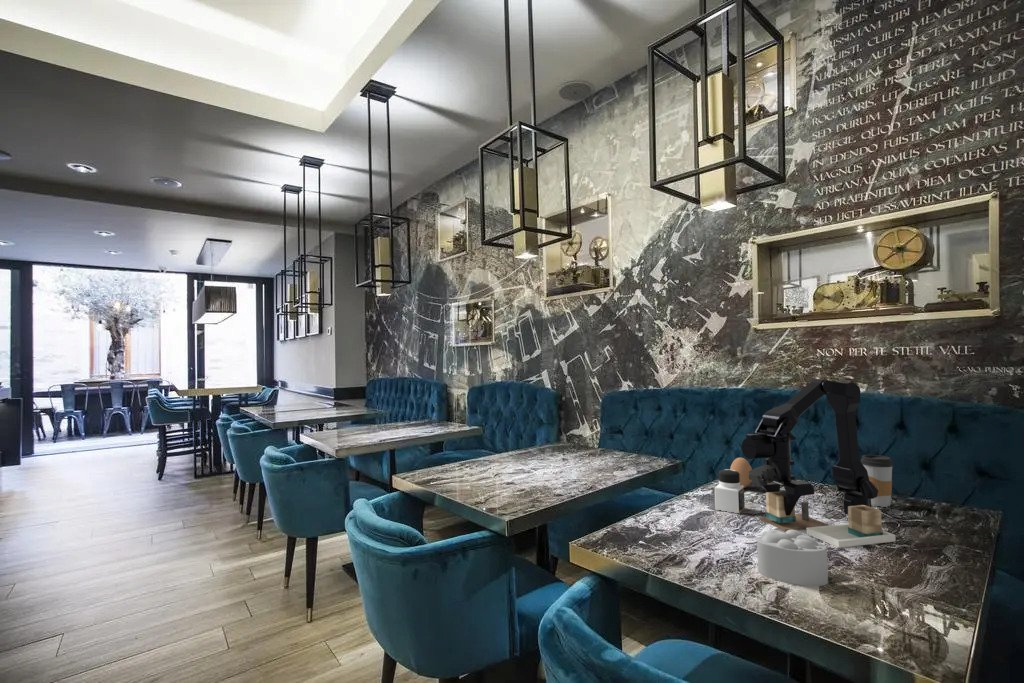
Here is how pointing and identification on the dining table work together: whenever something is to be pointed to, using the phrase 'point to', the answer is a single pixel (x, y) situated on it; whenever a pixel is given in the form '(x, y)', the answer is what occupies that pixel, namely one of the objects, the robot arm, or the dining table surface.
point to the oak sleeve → (777, 508)
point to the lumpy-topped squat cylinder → (792, 558)
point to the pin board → (797, 521)
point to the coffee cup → (879, 477)
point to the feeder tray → (846, 536)
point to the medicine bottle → (729, 492)
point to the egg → (742, 470)
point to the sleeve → (864, 521)
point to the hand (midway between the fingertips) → (780, 512)
